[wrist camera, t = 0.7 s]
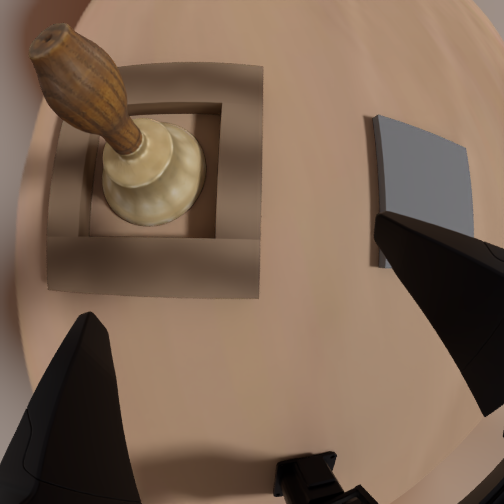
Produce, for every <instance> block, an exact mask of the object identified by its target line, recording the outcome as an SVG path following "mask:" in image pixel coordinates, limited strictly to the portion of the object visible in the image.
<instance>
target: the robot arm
mask: <svg viewBox="0 0 504 504" xmlns="http://www.w3.org/2000/svg"><path fill="white" fill-rule="evenodd" d="M374 239H375V242H376V244H377V245H378V247H379V248H380V250H381V251H382V253H383V254H384V256H385V258H386V259H387V261H388V262H389V264H390V265H391V267H392V269H393V270H394V272H395V273H396V275H397V277H398V278H399V279H400V281H401V282H402V284H403V285H404V286H405V288H406V289H407V290H408V292H409V293H410V295H411V296H412V297H413V299H414V300H415V302H416V303H417V304H418V306H419V307H420V309H421V310H422V312H423V313H424V314H425V316H426V317H427V319H428V320H429V322H430V323H431V325H432V326H433V328H434V329H435V331H436V332H437V334H438V336H439V337H440V339H441V340H442V342H443V343H444V345H445V347H446V348H447V350H448V352H449V353H450V355H451V356H452V358H453V360H454V362H455V363H456V365H457V367H458V368H459V370H460V372H461V374H462V376H463V377H464V379H465V381H466V383H467V385H468V387H469V388H470V390H471V392H472V394H473V396H474V398H475V400H476V402H477V404H478V406H479V408H480V410H481V412H482V414H483V416H484V417H486V416H488V415H489V414H491V413H492V412H494V411H495V410H496V409H498V408H499V407H501V406H502V405H503V404H504V249H503V248H500V247H498V246H495V245H492V244H490V243H487V242H483V241H481V240H479V239H476V238H473V237H470V236H467V235H465V234H462V233H459V232H456V231H453V230H450V229H447V228H444V227H441V226H438V225H435V224H431V223H428V222H425V221H422V220H418V219H415V218H412V217H408V216H405V215H401V214H398V213H394V212H391V211H384V212H381V213H379V214H377V216H376V218H375V228H374ZM503 437H504V432H503ZM336 457H337V455H336V453H335V452H330V453H325V454H321V455H316V456H311V457H305V458H300V459H294V460H287V461H281V462H279V463H277V466H276V474H275V482H274V489H273V495H274V496H275V497H280V496H284V499H285V501H286V504H378V503H377V501H376V500H375V499H374V498H373V497H372V496H371V495H370V494H369V493H368V492H367V491H366V490H365V489H364V488H363V487H362V486H361V485H358V486H356V487H355V488H353V489H351V490H349V491H347V492H344V490H343V489H342V487H341V485H340V484H339V482H338V481H337V479H336V477H335V476H334V474H333V472H332V471H333V467H334V464H335V460H336ZM281 465H282V466H281ZM0 504H142V503H141V500H140V497H139V493H138V490H137V487H136V483H135V479H134V476H133V472H132V468H131V463H130V459H129V455H128V450H127V445H126V440H125V435H124V430H123V424H122V418H121V411H120V404H119V396H118V388H117V380H116V374H115V369H114V364H113V358H112V353H111V347H110V340H109V334H108V332H107V329H106V328H105V327H104V325H103V324H102V323H101V322H100V320H99V319H98V318H97V317H96V315H95V314H94V313H92V312H87V313H83V314H81V315H79V317H78V318H77V320H76V321H75V323H74V324H73V326H72V327H71V329H70V330H69V332H68V334H67V335H66V337H65V339H64V340H63V342H62V343H61V345H60V347H59V348H58V350H57V352H56V353H55V355H54V357H53V359H52V360H51V362H50V364H49V366H48V367H47V369H46V371H45V373H44V375H43V377H42V378H41V380H40V382H39V384H38V386H37V388H36V390H35V392H34V394H33V396H32V398H31V400H30V402H29V404H28V406H27V409H26V410H25V412H24V415H23V417H22V419H21V421H20V423H19V426H18V427H17V430H16V432H15V434H14V436H13V438H12V440H11V442H10V444H9V446H8V448H7V451H6V453H5V455H4V457H3V459H2V461H1V463H0ZM458 504H504V459H503V460H502V461H501V462H500V463H499V464H498V465H497V466H496V468H495V469H494V470H493V471H492V472H491V473H490V474H489V475H488V476H487V477H486V478H485V479H484V480H483V481H482V482H481V483H480V484H479V485H478V486H477V487H476V488H475V489H474V490H473V491H472V492H470V493H469V494H468V495H467V496H466V497H465V498H464V499H463V500H462V501H460V502H459V503H458Z"/></svg>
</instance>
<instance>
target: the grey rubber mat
mask: <svg viewBox="0 0 504 504" xmlns="http://www.w3.org/2000/svg"><path fill="white" fill-rule="evenodd" d="M373 125H374V134H375V143H376V153H377V165H378V180H379V203H380V213H381V212H384V211H391V212H394V213H398V214H401V215H405V216H408V217H412V218H415V219H418V220H422V221H425V222H428V223H431V224H435V225H438V226H441V227H444V228H447V229H450V230H453V231H456V232H459V233H462V234H465V235H467V236H470V237H473V238H474V221H473V202H472V189H471V180H470V171H469V164H468V157H467V151H466V148H465V147H463V146H460V145H458V144H456V143H454V142H452V141H449V140H447V139H445V138H442V137H440V136H437V135H435V134H433V133H430V132H428V131H425V130H422V129H420V128H417V127H414V126H411V125H409V124H406V123H403V122H400V121H397V120H394V119H391V118H388V117H384V116H381V115H377V116H375V117H374V118H373ZM379 268H392V267H391V265H390V264H389V262H388V261H387V259H386V258H385V256H384V254H383V253H382V251H381V250H380V251H379Z"/></svg>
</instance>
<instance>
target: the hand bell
mask: <svg viewBox="0 0 504 504" xmlns="http://www.w3.org/2000/svg"><path fill="white" fill-rule="evenodd" d="M29 57H30V59H31V61H32V63H33V65H34V68H35V70H36V73H37V76H38V80H39V83H40V87H41V90H42V92H43V95H44V97H45V99H46V101H47V103H48V105H49V106H50V108H51V109H52V110H53V111H54V112H55V113H56V114H57V115H58V116H59V117H60V118H61V119H62V120H64V121H65V122H67V123H68V124H69V125H71V126H72V127H74V128H76V129H78V130H81V131H83V132H86V133H90V134H96V135H100V136H102V137H103V138H104V139H105V140H106V141H107V142H106V144H105V147H104V151H103V165H104V166H103V172H102V186H103V192H104V195H105V198H106V200H107V202H108V204H109V206H110V207H111V208H112V209H113V211H114V212H115V213H116V214H117V215H118V216H120V217H121V218H122V219H124V220H126V221H128V222H130V223H132V224H136V225H140V226H158V225H162V224H165V223H168V222H171V221H173V220H175V219H177V218H178V217H180V216H181V215H183V214H184V213H185V212H186V211H187V210H188V209H190V208H191V206H192V205H193V204H194V203H195V201H196V200H197V198H198V196H199V195H200V193H201V191H202V188H203V185H204V182H205V177H206V162H205V156H204V153H203V151H202V148H201V146H200V144H199V143H198V142H197V140H196V139H195V138H194V137H193V136H192V135H191V134H190V133H189V132H188V131H186V130H185V129H183V128H181V127H179V126H177V125H174V124H170V123H164V122H158V121H155V120H153V119H148V118H137V119H133V120H132V119H131V118H130V116H129V115H128V112H127V93H126V89H125V86H124V82H123V79H122V76H121V74H120V72H119V70H118V68H117V66H116V64H115V63H114V61H113V60H112V59H111V57H110V56H109V55H108V54H107V53H106V52H105V51H104V50H103V49H102V48H101V47H99V46H98V45H97V44H96V43H94V42H92V41H91V40H89V39H87V38H85V37H83V36H82V35H80V34H78V33H77V32H75V31H74V30H73V29H72V28H71V27H70V26H69V25H68V24H66V23H60V24H53V25H52V26H50V27H48V28H47V29H45V30H44V31H43V32H41V33H40V34H39V36H38V37H37V38H36V39H35V40H34V41H33V42H32V44H31V46H30V49H29Z"/></svg>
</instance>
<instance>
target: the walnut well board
mask: <svg viewBox="0 0 504 504" xmlns="http://www.w3.org/2000/svg"><path fill="white" fill-rule="evenodd" d="M117 68H118V70H119V72H120V74H121V76H122V79H123V82H124V86H125V89H126V93H127V112H128V115H129V116H131V115H147V114H221V122H220V137H219V153H218V172H217V194H216V221H215V239H212V238H160V237H89V227H90V210H91V197H92V187H93V178H94V170H95V163H96V156H97V150H98V144H99V138H100V135H96V134H90V133H86V132H83V131H81V130H78V129H76V128H74V127H72V126H71V125H69V124H68V123H67V122H65V121H64V120H63V122H62V126H61V130H60V135H59V139H58V144H57V149H56V155H55V160H54V166H53V173H52V180H51V188H50V197H49V208H48V222H47V284H48V290H53V291H64V292H76V293H89V294H103V295H120V296H139V297H163V298H202V299H259V280H260V240H261V195H262V138H263V66H255V65H245V64H232V63H212V62H172V63H153V64H141V65H131V66H122V67H117Z"/></svg>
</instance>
